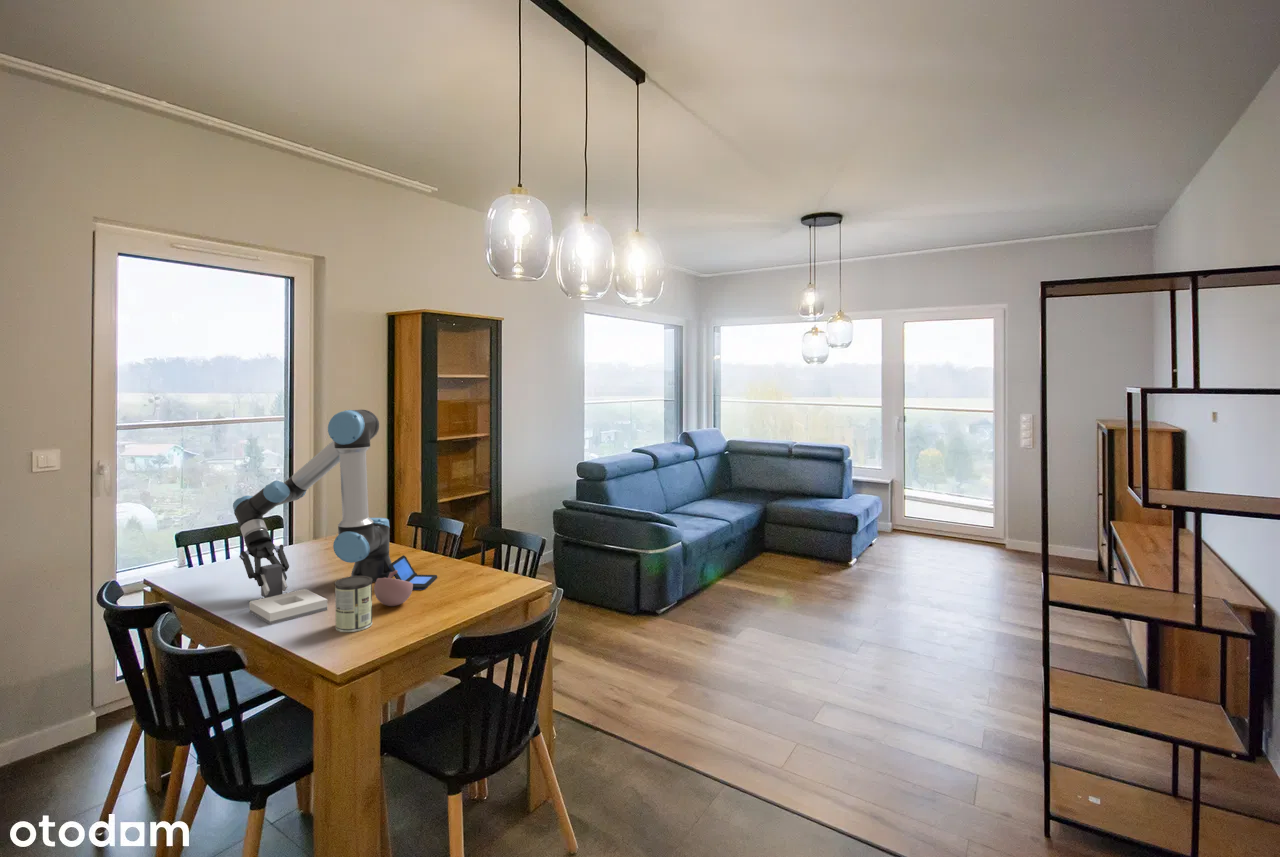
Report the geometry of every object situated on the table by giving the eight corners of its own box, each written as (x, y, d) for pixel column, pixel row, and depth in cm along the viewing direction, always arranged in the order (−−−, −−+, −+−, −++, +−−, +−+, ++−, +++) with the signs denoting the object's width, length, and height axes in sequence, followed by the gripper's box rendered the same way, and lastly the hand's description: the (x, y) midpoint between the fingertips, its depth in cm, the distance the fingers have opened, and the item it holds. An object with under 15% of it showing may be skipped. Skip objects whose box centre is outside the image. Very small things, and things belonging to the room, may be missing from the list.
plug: (276, 594, 209) (276, 563, 209) (282, 597, 206) (282, 566, 206) (261, 598, 206) (260, 566, 205) (267, 601, 203) (266, 569, 202)
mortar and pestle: (419, 600, 208) (419, 567, 207) (401, 612, 196) (402, 577, 195) (386, 598, 209) (386, 565, 208) (367, 610, 197) (366, 575, 197)
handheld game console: (424, 591, 218) (424, 565, 218) (387, 590, 218) (387, 565, 217) (438, 578, 234) (438, 554, 233) (403, 577, 234) (403, 554, 233)
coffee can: (344, 619, 189) (344, 575, 188) (377, 620, 189) (377, 575, 188) (328, 632, 178) (328, 585, 178) (363, 632, 179) (363, 586, 178)
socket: (305, 598, 206) (305, 588, 206) (327, 609, 197) (327, 599, 196) (249, 612, 193) (249, 601, 193) (270, 624, 183) (270, 613, 183)
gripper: (280, 537, 222) (300, 590, 212) (224, 546, 207) (243, 603, 198) (286, 524, 218) (307, 578, 209) (229, 533, 204) (249, 591, 195)
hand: (276, 590), depth 204 cm, fingers closed on plug, 5 cm apart
